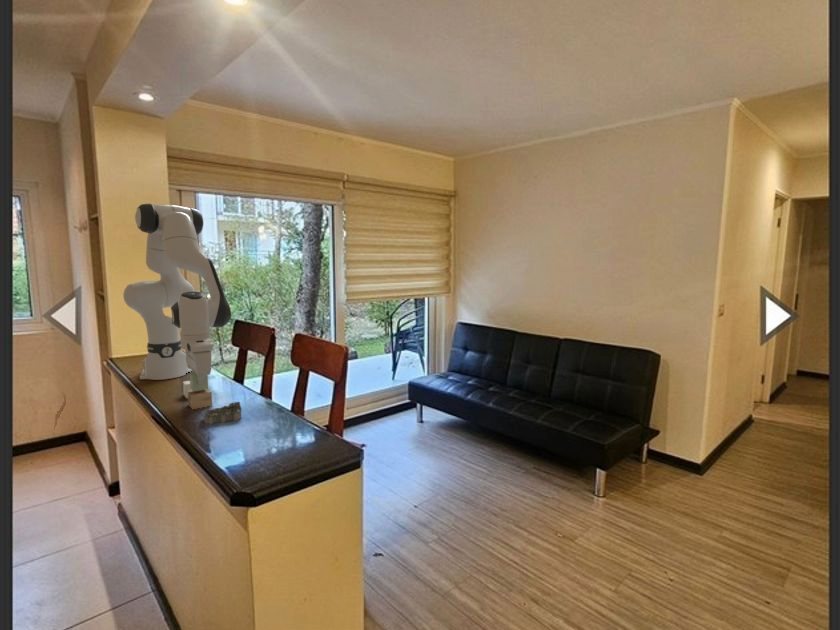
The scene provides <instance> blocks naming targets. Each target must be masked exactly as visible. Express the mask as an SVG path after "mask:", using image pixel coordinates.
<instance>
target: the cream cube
mask: <svg viewBox="0 0 840 630" xmlns="http://www.w3.org/2000/svg"><path fill="white" fill-rule="evenodd" d="M182 389H183V396H184V397H185V398H186V399H188V394H187V391H189V390H192V389H191V388H190V380H185V381H182Z"/></svg>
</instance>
